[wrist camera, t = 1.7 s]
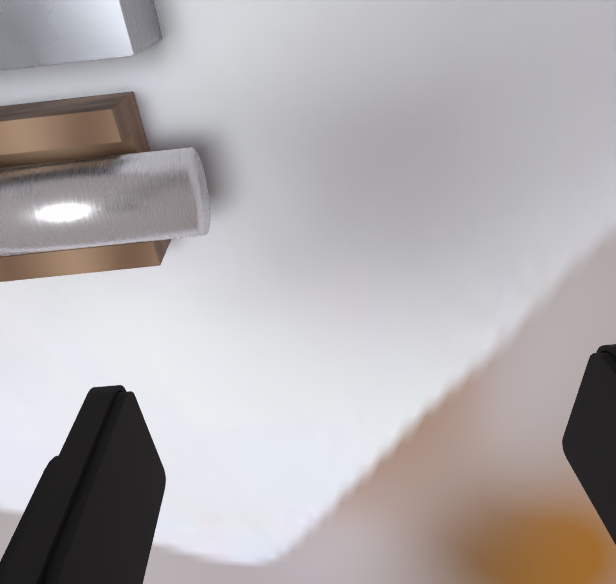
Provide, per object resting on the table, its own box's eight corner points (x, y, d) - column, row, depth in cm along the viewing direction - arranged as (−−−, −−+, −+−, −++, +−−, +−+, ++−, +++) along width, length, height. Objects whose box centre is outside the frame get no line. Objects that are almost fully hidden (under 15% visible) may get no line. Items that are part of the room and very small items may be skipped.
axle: (196, 135, 23) (181, 164, 20) (213, 213, 25) (202, 250, 22) (-93, 167, 23) (-156, 200, 20) (-50, 241, 25) (-101, 281, 22)
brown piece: (132, 91, 24) (111, 109, 21) (173, 234, 28) (160, 265, 25) (-147, 122, 24) (-207, 144, 21) (-65, 259, 28) (-105, 292, 25)
